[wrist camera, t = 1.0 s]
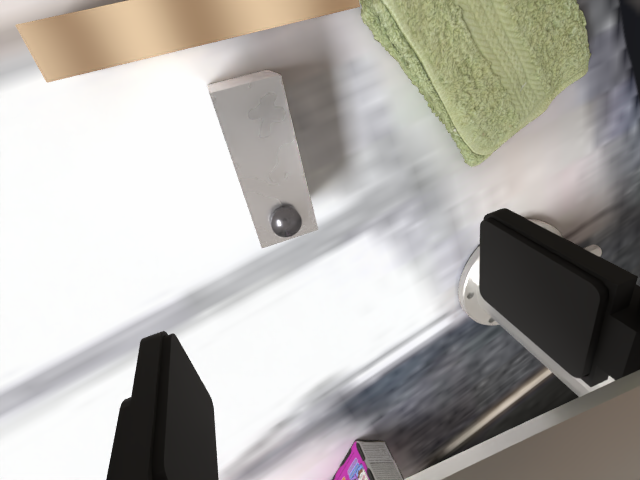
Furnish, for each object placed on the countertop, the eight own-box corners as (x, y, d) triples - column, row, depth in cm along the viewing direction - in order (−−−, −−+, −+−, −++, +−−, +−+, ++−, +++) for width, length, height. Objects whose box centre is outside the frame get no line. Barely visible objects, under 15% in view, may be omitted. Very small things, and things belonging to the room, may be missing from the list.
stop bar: (265, 69, 25) (283, 75, 20) (300, 203, 30) (320, 233, 25) (206, 84, 24) (209, 94, 19) (252, 218, 29) (263, 252, 24)
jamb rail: (323, -32, 23) (352, -49, 19) (330, 13, 24) (359, 6, 20) (52, 29, 21) (15, 24, 16) (75, 75, 22) (46, 82, 18)
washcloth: (463, 170, 33) (487, 181, 31) (337, -4, 24) (355, -11, 22) (578, 56, 32) (615, 58, 29) (488, -177, 23) (529, -208, 20)
